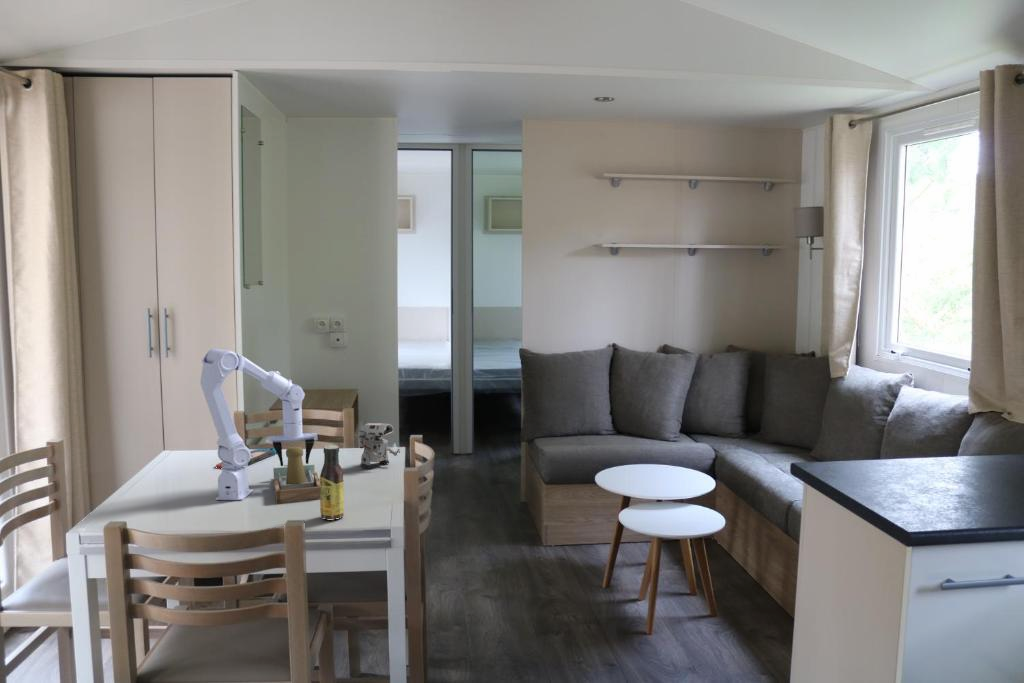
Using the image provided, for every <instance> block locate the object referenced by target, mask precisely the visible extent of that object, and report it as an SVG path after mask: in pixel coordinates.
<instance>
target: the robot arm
mask: <svg viewBox="0 0 1024 683" xmlns="http://www.w3.org/2000/svg"><path fill="white" fill-rule="evenodd" d="M201 362H202V370H201V375H200V381H199V382H200V383H199V384H200V386H201V389H202V391H203V395H204V398H205V400H206V404H207V407H208V409H209V410H208V411H209V412H210V416H211V419H212V422H213V424H214V427H215V430H216V433H217V436H218V439H217V442H216V444H217V448H218V449H217V457H218V458H219V460H220V461H221V462H222V469H221V473H220V474H219V476H218V478H217V487H218V488H217V489H218V496H217V497H216V498H215V501H220V500H221V501H243V500H244V499H246V497H248V496H249V495H251V494H253V492H254V490H255V489H253V488H249V487H250V486H249V470H248V469H249V467H248V466H249V465H247V463H248V462H249V461H250V458H251V452H250V451H251V450H250V449H249V447H247V446H246V445H245V442H244V440H243V438H242V437H241V436H240V434H238V430H237V427H236V425H235V422H234V419H233V416H232V412H231V410H230V407H229V404H228V401H227V397H226V395H225V393H224V389H223V387H222V385H223V383H224V381H225V380H226V379H227V378H228V377H229V375H230V374H232V373H233V372H234V371H242V372H244V373H246V374H247V375H249V376H251V377H253V378H255V379H256V380H258V381H260V385H261V387H262V388H263V389H265V390H267V391H269V392H271V393H272V394H274V395H275V396H278V398H279V400H281V402H282V403H281V404H282V420H283V421H282V424H283V434H281V435H273V436H268V442H269V445H272V446H273V449H275V450H276V452H277V454H276V455H277V456H278V457H277V458H278V459H279V463H280V467H284V461H283V447H282V444H283V443H292V442H293V443H294V442H305V443H304V444H305V464H309V461H310V455H311V452H312V450H313V447H314V445H315V441H318V433H317V432H314V433H313V432H312V433H307V432H305V433H303V432H304V431H303V410H302V406H303V404H302V403H303V400H304V399H305V395H306V393H305V392H304V390H303V387H301V385H298V384H295V383H293V380H291V379H290V378H288V379H287V378H285V377H283V376H282V375H281V374H282V373H281V372H279V371H277V370H275V371H274V370H270V371H268V372H267V371H266V370H265V369H263V368H262V367H261V366H258V365H257V364H256V363H254V362H252V361H251V360H250V359H248V358H246V357H245V356H243V355H242V354H239V353H236V352H235V351H233V350H226V349H221V348H217V347H216V348H215V347H214V348H210V349H209V350H208V351H207V352H206V354H205V355H204V357H203V358H202V360H201Z"/></svg>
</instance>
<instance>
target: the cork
mask: <svg viewBox="0 0 1024 683" xmlns="http://www.w3.org/2000/svg"><path fill="white" fill-rule="evenodd" d="M303 456H304V449H303V447H301V446H290V447H288V448H286V451H285V457H286V458H287V464H286V465H287V478H286V484H298V483H306V477H305V472H304V467H303V465H304V462H303Z"/></svg>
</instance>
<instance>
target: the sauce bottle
mask: <svg viewBox="0 0 1024 683" xmlns="http://www.w3.org/2000/svg"><path fill="white" fill-rule="evenodd" d="M339 452H340V447H339V445H336V444H329V445H325V446H323V455H324V458H323V459H324V461H323V466H322V469H321V472H320V476H319V480H320V499H319V503H320V505H319V506H320V507H319V508H320V517H322V518H325V519H336V518H340V517H342V516H343V517H344V511H345V503H344V502H345V501H344V500H345V498H344V495H345V494H344V493H345V491H344V489H345V488H344V470H343V468H342V466H341V465H340V460H339ZM343 517H342V518H343ZM322 518H321V519H322Z"/></svg>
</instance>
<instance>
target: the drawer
mask: <svg viewBox="0 0 1024 683" xmlns="http://www.w3.org/2000/svg"><path fill="white" fill-rule="evenodd" d="M287 465H288V464H283V466H275V467H272V468H273V470H272V471H273V478H274V477H278V483H279V485H280V490H289V489H299V488H309V487H314V473H316V472H315V463H308V464H306V463H305V464H303V467H304V472H305V477H306V483H298V484H286V478H287Z"/></svg>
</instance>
